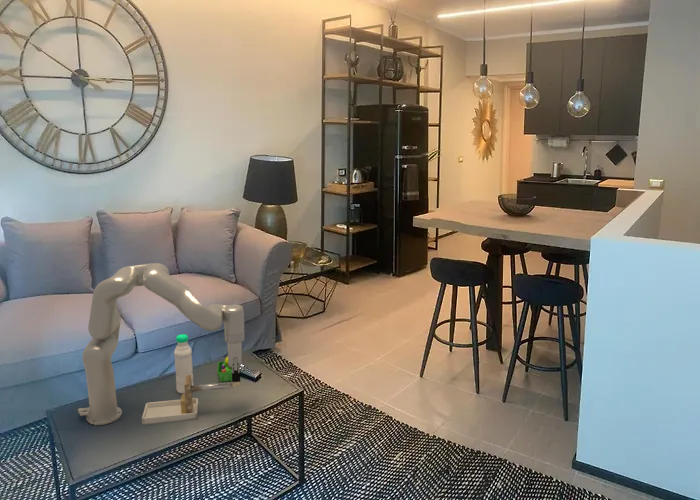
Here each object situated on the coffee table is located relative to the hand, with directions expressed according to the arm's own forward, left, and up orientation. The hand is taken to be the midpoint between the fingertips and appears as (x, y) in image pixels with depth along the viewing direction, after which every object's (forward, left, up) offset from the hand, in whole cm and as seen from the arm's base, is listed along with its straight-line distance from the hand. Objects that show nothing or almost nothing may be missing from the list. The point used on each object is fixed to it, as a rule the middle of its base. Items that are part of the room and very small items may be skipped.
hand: (236, 378), depth 213 cm
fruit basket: (-3, +28, -13) cm, 31 cm away
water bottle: (-21, +18, -13) cm, 31 cm away
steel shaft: (-8, 0, -4) cm, 9 cm away
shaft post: (-18, 0, -13) cm, 23 cm away
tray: (-25, 0, -13) cm, 29 cm away
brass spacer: (-20, 0, -12) cm, 24 cm away
